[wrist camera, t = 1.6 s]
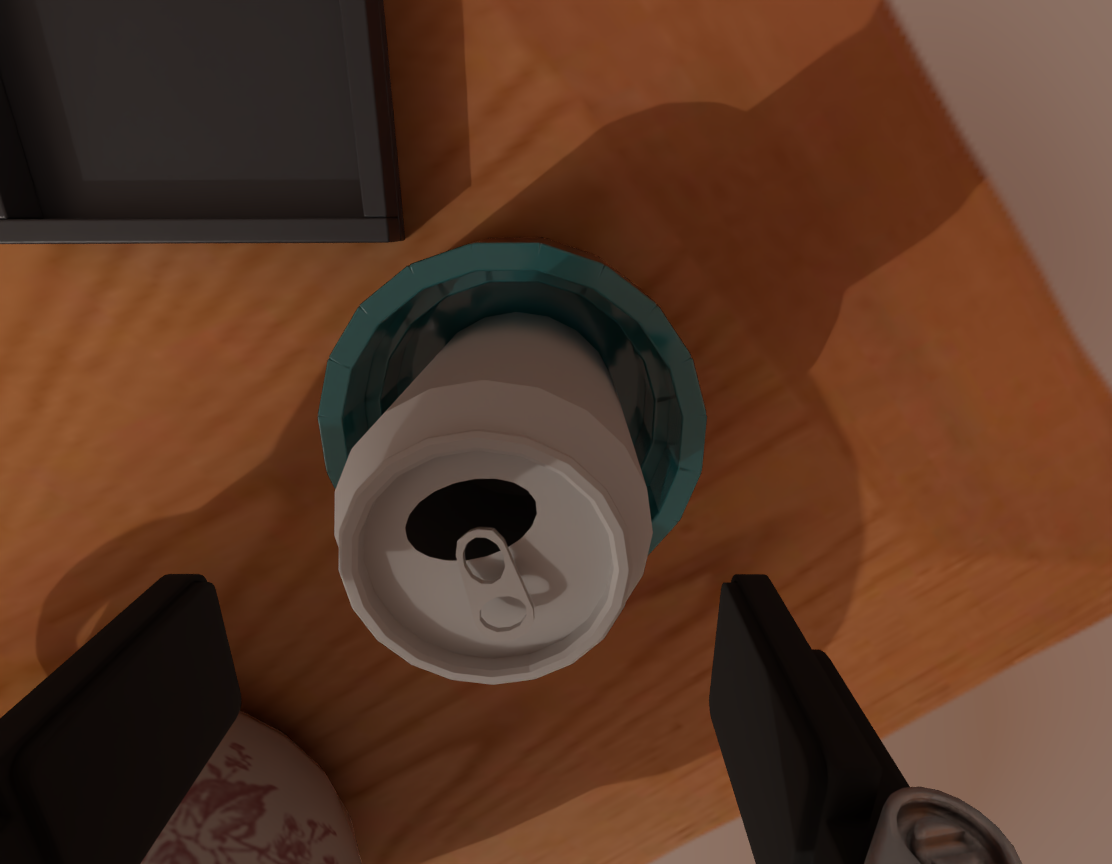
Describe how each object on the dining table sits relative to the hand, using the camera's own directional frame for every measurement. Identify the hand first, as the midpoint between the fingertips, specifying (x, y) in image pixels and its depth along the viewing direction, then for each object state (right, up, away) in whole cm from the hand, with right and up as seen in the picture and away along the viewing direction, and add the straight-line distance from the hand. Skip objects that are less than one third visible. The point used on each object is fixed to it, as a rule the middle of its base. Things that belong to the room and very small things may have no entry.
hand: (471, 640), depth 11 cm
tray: (-11, +17, +8) cm, 22 cm away
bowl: (0, +5, +13) cm, 14 cm away
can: (0, +5, +13) cm, 14 cm away
